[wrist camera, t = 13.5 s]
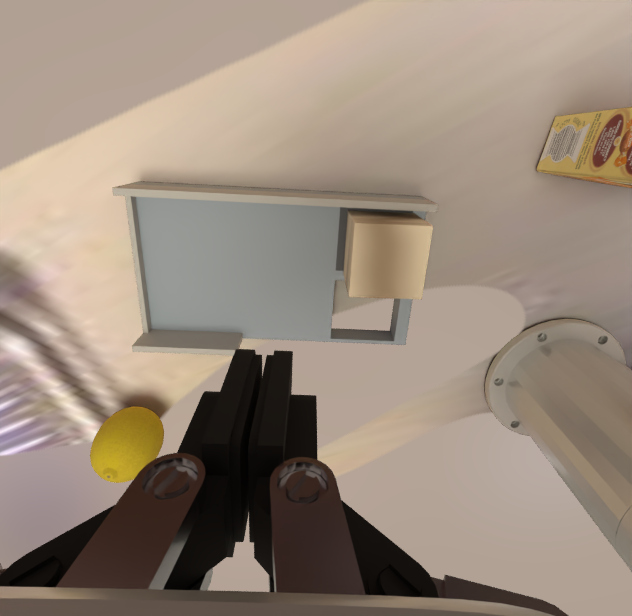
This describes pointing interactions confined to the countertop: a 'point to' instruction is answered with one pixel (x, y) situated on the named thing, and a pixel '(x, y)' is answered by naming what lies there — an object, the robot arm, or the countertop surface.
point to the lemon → (126, 444)
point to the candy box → (591, 147)
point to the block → (386, 254)
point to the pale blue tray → (246, 264)
